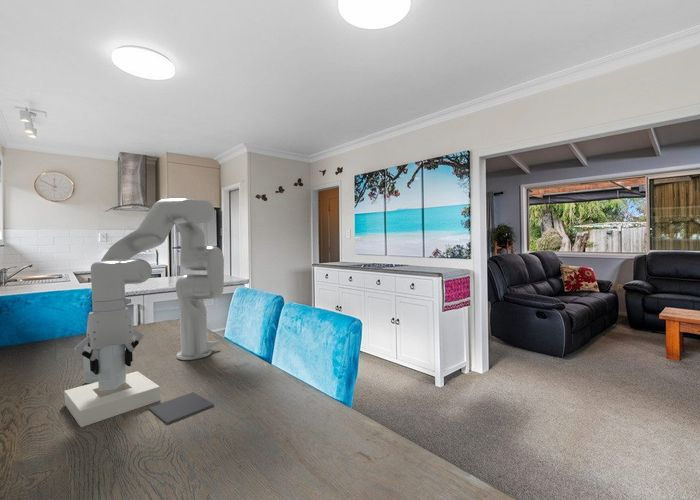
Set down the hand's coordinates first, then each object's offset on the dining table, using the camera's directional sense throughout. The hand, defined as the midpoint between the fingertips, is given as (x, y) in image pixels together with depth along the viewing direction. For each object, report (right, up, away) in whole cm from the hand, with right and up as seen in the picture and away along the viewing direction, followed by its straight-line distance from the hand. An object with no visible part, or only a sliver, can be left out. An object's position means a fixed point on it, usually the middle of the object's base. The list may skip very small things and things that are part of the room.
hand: (112, 368), depth 97 cm
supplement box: (-14, -9, +17) cm, 24 cm away
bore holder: (0, -10, 0) cm, 10 cm away
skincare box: (0, -5, 0) cm, 5 cm away
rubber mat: (+21, -9, -3) cm, 23 cm away
